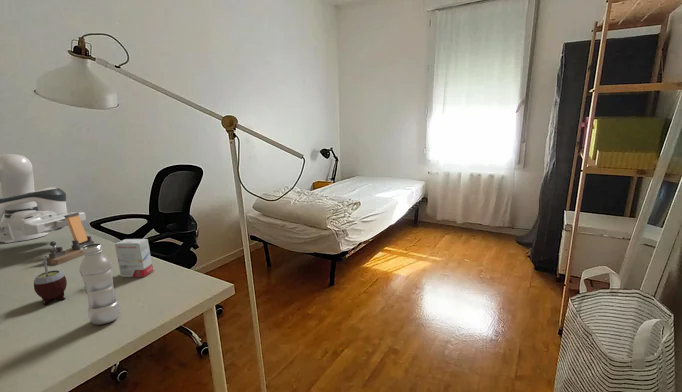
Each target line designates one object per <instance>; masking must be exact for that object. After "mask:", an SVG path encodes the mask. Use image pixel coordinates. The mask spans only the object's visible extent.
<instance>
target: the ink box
mask: <svg viewBox="0 0 682 392" xmlns="http://www.w3.org/2000/svg"><path fill="white" fill-rule="evenodd" d="M114 247H115V252H116V257H117V262H118V268H119V273H120V277H121V278H145V277H147V276H148V275H150V274H151V273H153V272H154V267H153V261H152V257H151V250H150V244H149V239H148V238H125V239H122V240H120V241H117V242H115V243H114ZM152 271H153V272H152ZM150 272H151V273H150ZM149 273H150V274H149Z"/></svg>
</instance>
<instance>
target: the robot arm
mask: <svg viewBox="0 0 682 392" xmlns="http://www.w3.org/2000/svg"><path fill="white" fill-rule="evenodd" d="M33 168H34V167H33V163H32V162H31V161H30V159H29V158H28V157H26V156H24V155H21V154H16V153H3V154H0V187H1V195H2V197H1V198H0V243H3V242H4V243H3V244H11V243H16V242H23V241H28V240H29V241H30V240H33V239H38V238H41V237H44V236H45V237H46V236H47V235H49V234H50V233H52V232H55V231H60V230H62V229H64V227H69V226H68V223H67V221H66V218H64V216H66V215H69V214H73V213H77V212H78V213H79V218H80V220H81V222H83V221H86V219H87V217H86V216H87V215H86V212H83V211H74V212H73V211H72V212H68V208H67V207H68V206H67V193H66V192H65V191H64V190H63V189H61V188H59V187H55V186H54V187H46V188H41V189H39V190H36V189H35V179H34V178H35V177H34V169H33ZM3 216H4V219H3V220H2V218H3Z"/></svg>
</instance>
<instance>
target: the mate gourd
mask: <svg viewBox="0 0 682 392" xmlns="http://www.w3.org/2000/svg"><path fill="white" fill-rule="evenodd" d="M47 257H48V255H44V256H43V258H44V261H43V260H42V263H43V268H44V271H45V272H42V273H39V274H37V276H35V278H34V280H33V289H34V292H35V293H36V295H38V297H40V298H41V299H42V301H43V302H44V303H43V304H42V305H43V306H48V305H49V304H52V303H53V302H56V301H59V302H60V301H65V300H66V297H64V296H65V290H66V289H67V285H68V284H67V283H68V282H67V278H66V275H65V273H64V272H62V271H60V270H57V269H56V270H48V264H47V261H46V258H47Z"/></svg>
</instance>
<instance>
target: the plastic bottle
mask: <svg viewBox="0 0 682 392" xmlns="http://www.w3.org/2000/svg"><path fill="white" fill-rule="evenodd" d="M82 249H83V255H82V256H84V259H83V260H82V261H81V263H80V266H79V273H80V275H81V278H82V281H83V284H84V286H85V287H84V288H85V289H86V290H85V291H86V294H87V301H88V302H87V303H88V305H87V306H88V308H87V313H88V314H87V316H88V319H89V321H90V322H91V323H92V324H93V325H97V326H100V325H104V324H109V323H111V322H113V321H115V320H116V319H117V318H118V317H119V316H120V314H121V304H120V302H119V300H118V297H117V294H116V292H115V288H114V287H115V286H114V279H113V262H112V260H111V259H110V258H109V257H108V256H107V255H106V254H104V253H103V252H104V250H103V246H102V244H101V243H96V242H95V243H94V244H89V245H86V246H84V247H82Z"/></svg>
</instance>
